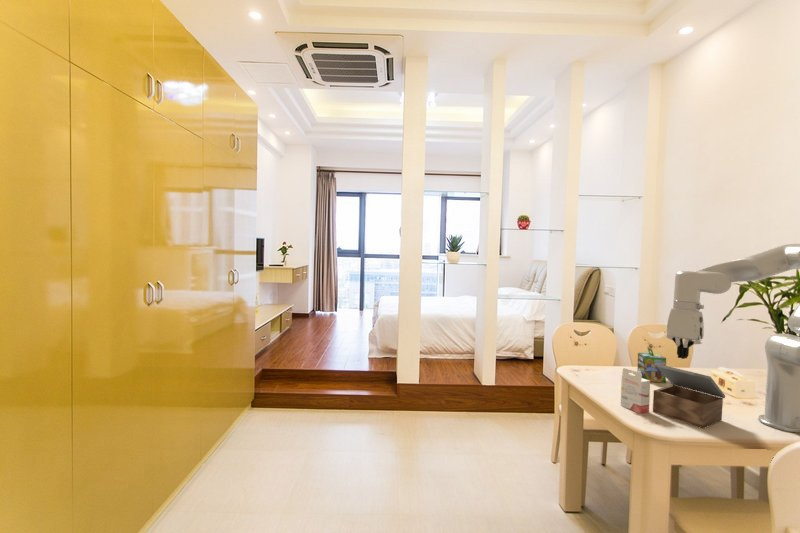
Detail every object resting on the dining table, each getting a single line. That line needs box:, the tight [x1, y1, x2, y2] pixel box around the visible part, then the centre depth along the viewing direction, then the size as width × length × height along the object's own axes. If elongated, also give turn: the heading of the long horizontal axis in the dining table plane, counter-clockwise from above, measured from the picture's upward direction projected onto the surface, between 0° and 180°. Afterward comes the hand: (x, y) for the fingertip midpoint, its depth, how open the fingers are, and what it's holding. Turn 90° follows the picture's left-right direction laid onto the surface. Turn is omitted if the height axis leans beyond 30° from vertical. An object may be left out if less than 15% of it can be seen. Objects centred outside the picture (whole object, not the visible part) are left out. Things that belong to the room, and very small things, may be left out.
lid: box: [656, 364, 726, 399], centre depth 146 cm, size 17×15×1 cm
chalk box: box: [636, 346, 667, 384], centre depth 189 cm, size 9×9×15 cm
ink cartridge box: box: [620, 367, 651, 414], centre depth 152 cm, size 9×5×15 cm, turn 22°
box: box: [652, 384, 724, 429], centre depth 146 cm, size 16×14×8 cm
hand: (682, 357), depth 143 cm, fingers closed
